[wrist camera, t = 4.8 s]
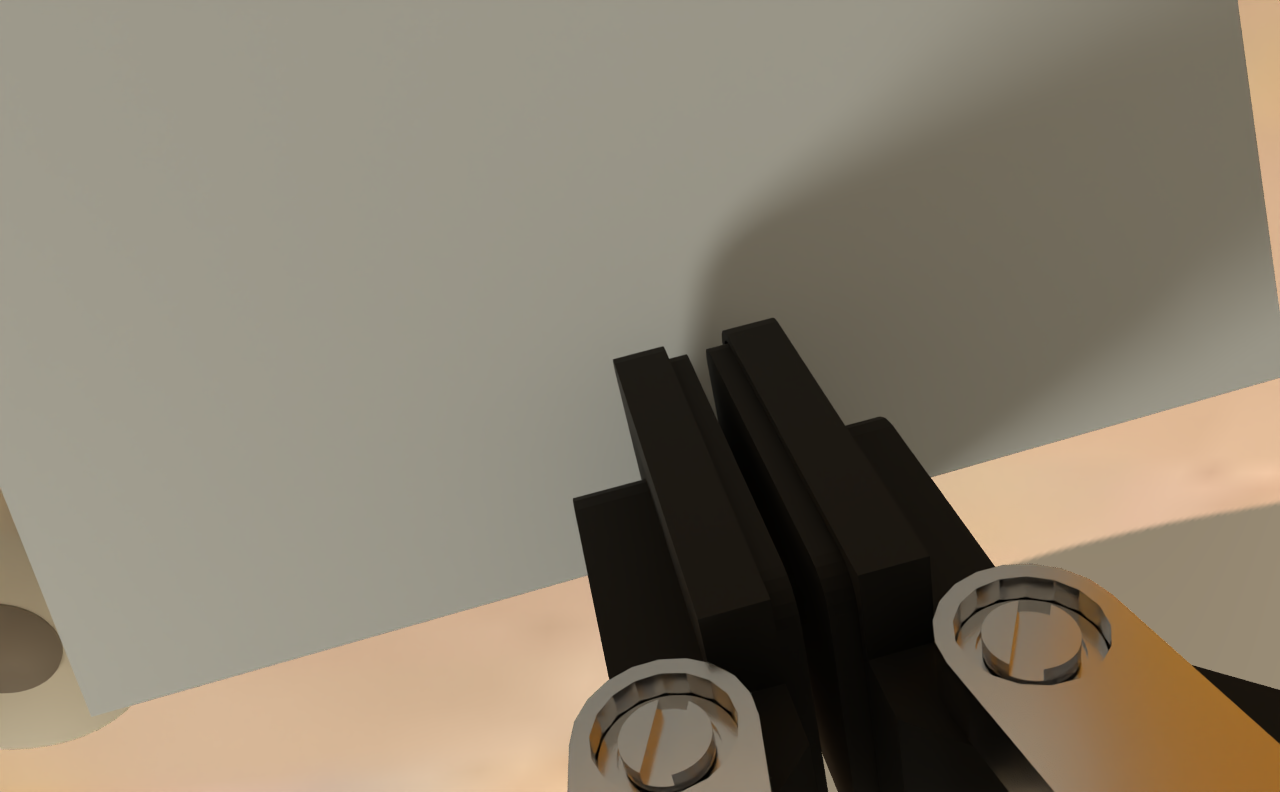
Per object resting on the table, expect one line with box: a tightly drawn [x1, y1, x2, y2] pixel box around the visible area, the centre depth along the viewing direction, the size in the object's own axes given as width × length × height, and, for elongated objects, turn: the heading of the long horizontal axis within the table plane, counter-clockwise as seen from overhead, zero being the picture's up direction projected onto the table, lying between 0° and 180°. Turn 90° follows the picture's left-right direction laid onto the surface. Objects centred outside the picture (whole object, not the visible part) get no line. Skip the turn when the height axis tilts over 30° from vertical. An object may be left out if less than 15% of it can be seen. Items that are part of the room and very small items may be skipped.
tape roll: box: [0, 488, 130, 750], centre depth 24 cm, size 6×6×5 cm
